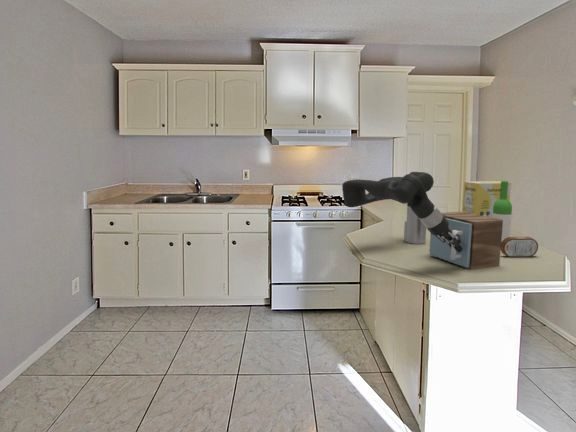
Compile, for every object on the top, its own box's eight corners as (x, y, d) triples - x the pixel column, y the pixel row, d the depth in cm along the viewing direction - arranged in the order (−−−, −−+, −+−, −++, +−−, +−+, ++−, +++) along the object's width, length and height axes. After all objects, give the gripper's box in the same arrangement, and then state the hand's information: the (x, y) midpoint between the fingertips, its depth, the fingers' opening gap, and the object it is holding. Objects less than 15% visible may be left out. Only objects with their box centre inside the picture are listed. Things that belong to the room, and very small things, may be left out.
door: (420, 255, 188) (422, 216, 185) (431, 254, 190) (433, 215, 187) (457, 268, 168) (459, 225, 165) (469, 267, 170) (472, 224, 167)
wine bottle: (491, 244, 212) (496, 180, 208) (509, 246, 208) (515, 181, 203) (488, 247, 206) (493, 181, 201) (507, 249, 202) (513, 182, 197)
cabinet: (431, 255, 190) (434, 213, 187) (458, 252, 195) (460, 211, 192) (471, 269, 170) (474, 222, 167) (499, 265, 175) (503, 219, 172)
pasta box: (492, 235, 232) (496, 181, 227) (506, 240, 222) (511, 182, 217) (460, 237, 227) (464, 181, 223) (473, 241, 217) (477, 183, 213)
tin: (534, 255, 191) (536, 236, 190) (538, 257, 188) (540, 237, 187) (499, 255, 191) (500, 236, 189) (502, 257, 188) (504, 237, 186)
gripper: (415, 224, 171) (440, 253, 177) (438, 230, 158) (465, 262, 164) (427, 209, 172) (452, 239, 178) (452, 214, 159) (477, 246, 165)
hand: (458, 249), depth 171 cm, fingers closed on door, 2 cm apart
